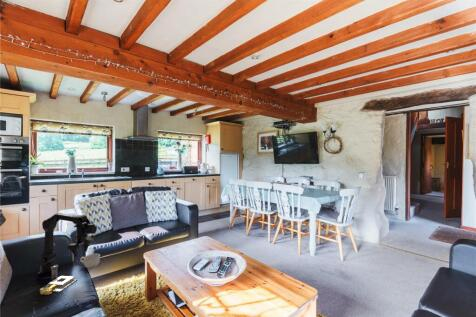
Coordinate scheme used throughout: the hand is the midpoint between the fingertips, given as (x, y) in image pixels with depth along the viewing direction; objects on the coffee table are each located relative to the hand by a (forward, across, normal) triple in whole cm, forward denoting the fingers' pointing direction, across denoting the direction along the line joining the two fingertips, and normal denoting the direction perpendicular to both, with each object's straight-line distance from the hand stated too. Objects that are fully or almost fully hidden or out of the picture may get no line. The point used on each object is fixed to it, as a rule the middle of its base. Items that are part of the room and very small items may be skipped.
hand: (81, 254), depth 169 cm
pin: (+15, -8, +13) cm, 21 cm away
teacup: (+15, +12, +2) cm, 19 cm away
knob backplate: (+15, -17, +3) cm, 22 cm away
